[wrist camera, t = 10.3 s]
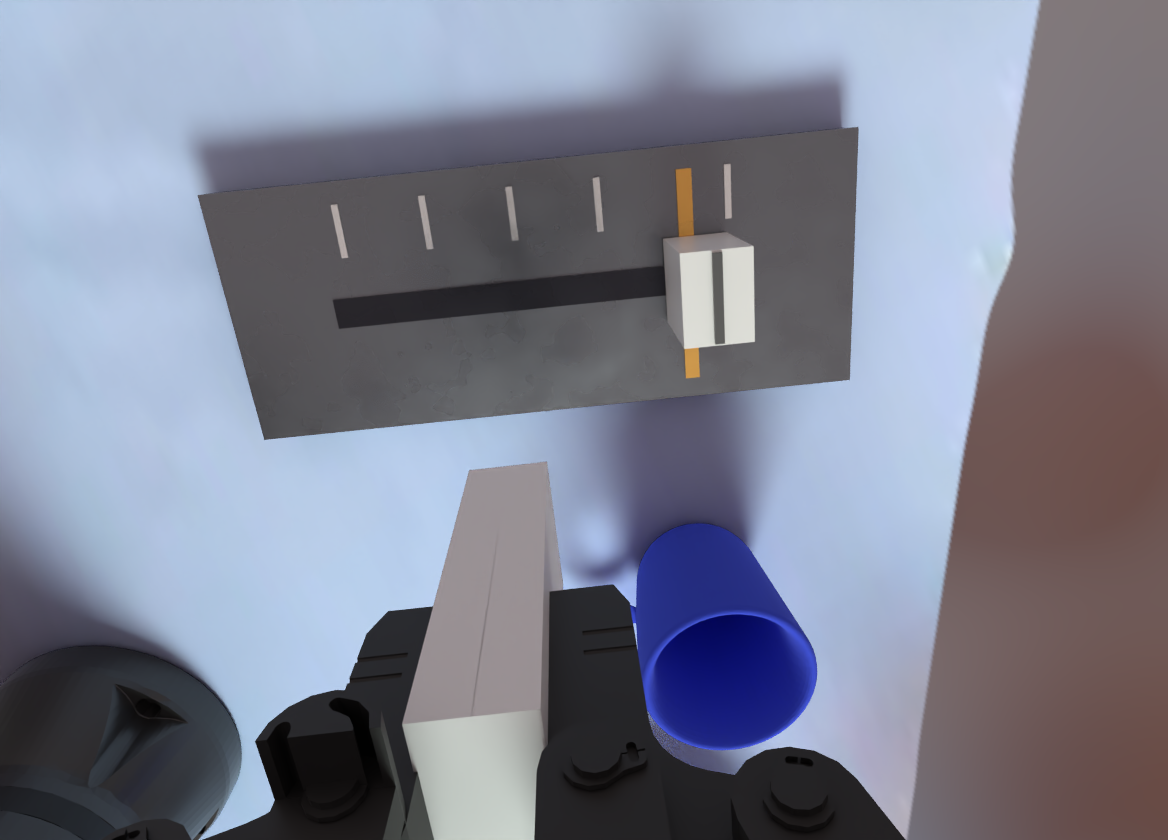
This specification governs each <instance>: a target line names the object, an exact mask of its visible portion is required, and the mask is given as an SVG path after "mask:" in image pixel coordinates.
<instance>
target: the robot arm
mask: <svg viewBox="0 0 1168 840" xmlns="http://www.w3.org/2000/svg"><path fill="white" fill-rule="evenodd" d="M357 659H358V662H357V663H355V666H354V668H353V671H352V673H351V676H350V683H349V684H347V686H346V689H345V690H334V691H330V692H326V693H322V694H317V695H313V696H310V697H308V698H306V699H304V700H302V701H300V702H298V703H296V704H294V705H292V706H290V707H288V708H287V709H286V710H284V711H283V712H282V713H280V714H279V715H278V716H277V717H275V718H274V719H273V720H272V721H270V722H269V723H268V724H267V726H266V727H265V729H264V730H263V731H262V733H261V734H260V735H259V737H258V738H257V739H256V741H255V742H256V745H257V748H258V751H259V754H260V757H261V760H262V763H263V766H264V769H265V772H266V775H267V778H268V781H269V784H270V787H271V790H272V793H273V796H274V799H275V801H274V804H273V806H272V808H271V811H270V812H268V813H267V814H265V815H263V816H261V817H259V818H257V819H255V820H253V821H250V822H248V823H246V824H244V825H241V826H238V827H236V828H233V829H230V830H228V831H225V832H222V833H219V834H217V835H214V836H211V837H209V838H206V839H203V840H905V839H904V837H903V836H902V835H901V834H900V832H899V831H898V830H897V829H896V827H895V826H894V825H893V824H892V822H891V821H890V820H889V819H888V817H887V816H886V815H885V814H884V812H883V811H882V810H881V809H880V807H879V806H878V805H877V804H876V802H875V801H874V800H873V799H872V797H871V796H870V795H869V794H868V792H867V791H866V790H865V789H864V787H863V786H862V785H861V784H860V782H859V781H858V780H857V779H856V778H855V777H854V776H853V775H852V774H851V773H850V772H849V771H847V770H846V769H845V768H844V767H843V766H842V765H841V764H840V763H839V762H837V761H835V760H833V759H831V758H829V757H826V756H824V755H822V754H820V753H818V752H816V751H812V750H806V749H800V748H793V747H784V748H777V749H770V750H765V751H763V752H761V753H759V754H757V755H756V756H754V757H752V758H750V759H748V760H746V761H745V763H744V764H743V765H742V767H741V768H740V769H739V771H738V772H737V773H736V775H731V774H726V773H720V772H714V771H708V770H705V769H701V768H697V767H694V766H690V765H688V764H686V763H684V762H682V761H680V760H678V759H676V758H674V757H673V756H672V755H671V754H670V753H668V752H667V751H666V750H665V749H664V748H662V747H661V745H660V744H659V742H658V741H657V739H656V738H655V737H654V735H653V732H652V729H651V726H650V723H649V718H648V712H647V706H646V700H645V694H644V688H643V682H642V675H641V669H640V663H639V657H638V651H637V645H636V639H635V633H634V627H633V620H632V614H631V608H630V603H629V601H628V600H627V599H626V598H625V597H624V596H623V595H622V594H621V593H620V592H619V590H618V589H617V588H616V587H615V586H614V585H604V586H595V587H586V588H576V589H567V590H563V580H562V572H561V565H560V557H559V550H558V542H557V535H556V527H555V519H554V512H553V504H552V497H551V489H550V482H549V474H548V467H547V462H540V463H531V464H522V465H513V466H504V467H495V468H486V469H476V470H469V473H468V477H467V481H466V484H465V488H464V492H463V496H462V500H461V503H460V507H459V511H458V515H457V518H456V522H455V526H454V530H453V534H452V537H451V541H450V545H449V549H448V553H447V556H446V560H445V564H444V568H443V571H442V575H441V579H440V583H439V587H438V590H437V594H436V598H435V602H434V605H433V607H424V608H414V609H405V610H396V611H388V612H387V613H386V614H385V615H384V616H383V617H382V618H381V619H380V620H379V621H378V622H377V624H376V625H375V626H374V627H373V628H372V629H371V630H370V631H369V632H368V633H367V634H366V637H365V640H364V642H363V645H362V647H361V650H360V653H359V655H358V658H357ZM241 754H242V753H241V745H240V740H239V736H238V733H237V730H236V728H235V725H234V723H233V721H232V719H231V717H230V716H229V714H228V712H227V711H226V709H225V708H224V707H223V705H222V704H221V703H220V702H219V700H218V699H217V698H216V697H215V696H214V695H213V694H212V693H211V692H210V691H209V690H208V689H207V688H206V687H205V686H204V685H202V684H201V683H200V682H199V681H197V680H196V679H195V678H193V677H192V676H191V675H189V674H187V673H186V672H184V671H183V670H181V669H179V668H177V667H175V666H174V665H172V664H169V663H167V662H165V661H163V660H160V659H158V658H156V657H153V656H150V655H147V654H144V653H140V652H137V651H132V650H128V649H122V648H116V647H107V646H81V647H72V648H66V649H61V650H57V651H53V652H50V653H47V654H44V655H42V656H39V657H37V658H35V659H33V660H31V661H29V662H28V663H26V664H25V665H23V666H22V667H20V668H19V669H18V670H16V671H15V672H14V673H13V674H12V675H11V676H10V677H9V678H8V679H7V680H6V681H5V682H4V683H3V684H2V685H1V686H0V840H198V839H199V838H200V837H201V836H202V835H203V834H204V833H205V832H206V831H207V830H208V829H209V828H210V827H211V826H212V825H213V823H214V822H215V820H216V819H217V818H218V816H219V815H220V813H221V811H222V810H223V808H224V806H225V804H226V802H227V800H228V798H229V796H230V794H231V792H232V790H233V788H234V786H235V784H236V782H237V779H238V776H239V773H240V768H241Z"/></svg>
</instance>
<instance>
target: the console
mask: <svg viewBox="0 0 1168 840" xmlns="http://www.w3.org/2000/svg"><path fill="white" fill-rule="evenodd" d="M857 155H858V127H852V128H838V129H829V130H819V131H809V132H800V133H790V134H780V135H771V136H761V137H751V138H741V139H732V140H722V141H712V142H703V143H693V144H683V145H674V146H664V147H654V148H645V149H635V150H625V151H615V152H606V153H596V154H586V155H577V156H567V157H557V158H548V159H538V160H528V161H519V162H509V163H499V164H489V165H480V166H470V167H460V168H451V169H441V170H431V171H422V172H412V173H402V174H393V175H383V176H373V177H363V178H354V179H344V180H334V181H325V182H315V183H305V184H296V185H286V186H276V187H267V188H257V189H247V190H237V191H228V192H218V193H211V194H204V195H198V198H199V202H200V206H201V209H202V213H203V217H204V220H205V224H206V228H207V231H208V235H209V239H210V242H211V246H212V250H213V253H214V257H215V261H216V264H217V268H218V272H219V275H220V279H221V283H222V286H223V290H224V294H225V297H226V301H227V305H228V308H229V312H230V316H231V319H232V323H233V327H234V330H235V334H236V338H237V341H238V345H239V348H240V352H241V356H242V359H243V363H244V367H245V370H246V374H247V378H248V381H249V385H250V389H251V392H252V396H253V400H254V403H255V407H256V411H257V414H258V418H259V422H260V425H261V429H262V433H263V436H264V440H266V439H276V438H286V437H296V436H305V435H315V434H325V433H335V432H345V431H354V430H364V429H374V428H384V427H393V426H403V425H413V424H423V423H432V422H442V421H452V420H462V419H471V418H481V417H491V416H501V415H511V414H520V413H530V412H540V411H550V410H559V409H569V408H579V407H589V406H598V405H608V404H618V403H628V402H637V401H647V400H657V399H667V398H677V397H686V396H696V395H706V394H716V393H725V392H735V391H745V390H755V389H764V388H774V387H784V386H794V385H803V384H813V383H823V382H833V381H843V380H850V355H851V327H852V298H853V269H854V241H855V212H856V184H857ZM723 232H727V233H729V234H731V235H733V236H735V237H737V238H739V239H741V240H743V241H745V242H747V243H749V244H751V245H753V246H754V316H755V342H748V343H739V344H729V345H719V346H709V347H700V348H690V349H684V348H683V346H682V344H681V343H680V341H679V340H678V338H677V336H676V335H675V333H674V332H673V330H672V328H671V327H670V325H669V324H668V319H667V301H666V284H665V266H664V248H663V239H665V238H674V237H684V236H694V235H704V234H713V233H723Z"/></svg>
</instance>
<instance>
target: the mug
mask: <svg viewBox="0 0 1168 840" xmlns="http://www.w3.org/2000/svg"><path fill="white" fill-rule="evenodd" d="M630 608H631V614H632V620H633V623H636V626H637V645H638V657H639V663H640V669H641V675H642V682H643V688H644V694H645V700H646V706H647V711H648V712H649V713H650V715H651V717H652V718H653V720H654V721H655V722H656V723H657V724H658V725H659V727H660V728H661V729H663V730H664V731H665V732H666V733H667V734H669V735H670V736H672V737H673V738H675V739H677V740H679V741H681V742H683V743H685V744H688V745H691V746H695V747H698V748H703V749H710V750H733V749H740V748H745V747H749V746H753V745H756V744H759V743H761V742H764V741H766V740H768V739H770V738H772V737H774V736H776V735H777V734H779V733H781V732H782V731H783V730H785V729H786V728H787V727H789V726H790V725H791V724H792V723H793V722H794V721H795V720H796V719H797V718H798V717H799V716H800V715H801V713H802V712H803V711H804V710H805V708H806V706H807V705H808V703H809V701H810V699H811V697H812V695H813V692H814V689H815V686H816V680H817V663H816V657H815V654H814V651H813V648H812V646H811V644H810V642H809V640H808V638H807V637H806V635H805V634H804V632H803V631H802V629H801V628H800V626H799V625H798V623H797V621H796V620H795V618H794V617H793V615H792V614H791V612H790V611H789V609H788V608H787V606H786V605H785V603H784V601H783V600H782V598H781V597H780V595H779V594H778V592H777V591H776V589H775V588H774V586H773V585H772V583H771V581H770V580H769V578H768V577H767V575H766V574H765V572H764V571H763V569H762V568H761V566H760V565H759V563H758V561H757V560H756V558H755V557H754V555H753V554H752V552H751V551H750V549H749V548H748V547H747V546H746V544H745V543H744V542H743V541H742V540H741V539H739V538H738V537H737V536H736V535H734V534H733V533H731V532H729V531H728V530H726V529H724V528H721V527H718V526H715V525H711V524H703V523H695V524H687V525H682V526H679V527H676V528H673V529H671V530H669V531H667V532H666V533H664V534H662V535H661V536H660V537H659V538H657V539H656V540H655V541H654V542H653V543H652V544H651V545H650V547H649V548H648V549H647V551H646V552H645V554H644V556H643V558H642V560H641V563H640V566H639V570H638V575H637V596H636V607H634V606H631V605H630Z"/></svg>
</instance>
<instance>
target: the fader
mask: <svg viewBox="0 0 1168 840" xmlns="http://www.w3.org/2000/svg"><path fill="white" fill-rule="evenodd" d="M663 248H664V266H665V284H666V301H667V319H668V324H669V325H670V327H671V328H672V330H673V332H674V333H675V335H676V336H677V338H678V340H679V341H680V343H681V344H682V346H683V348H684V349H690V348H700V347H709V346H719V345H729V344H739V343H748V342H755V316H754V246H753V245H751V244H749V243H747V242H745V241H743V240H741V239H739V238H737V237H735V236H733V235H731V234H729V233H727V232H723V233H713V234H704V235H694V236H684V237H674V238H665V239H663Z"/></svg>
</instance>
